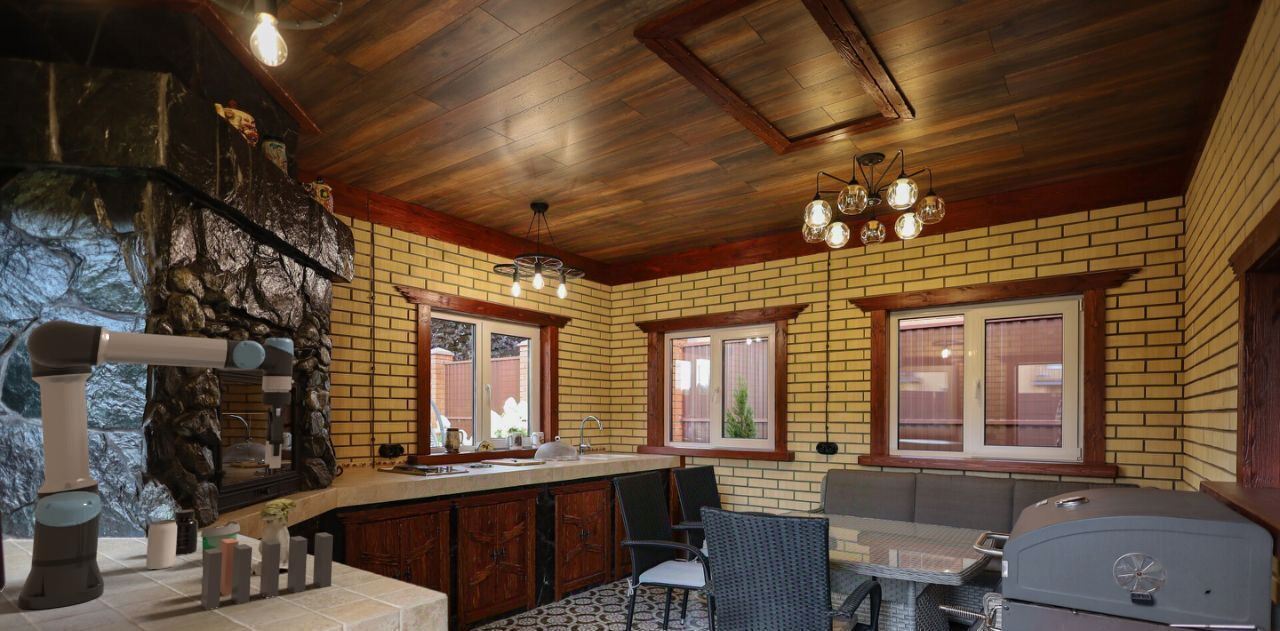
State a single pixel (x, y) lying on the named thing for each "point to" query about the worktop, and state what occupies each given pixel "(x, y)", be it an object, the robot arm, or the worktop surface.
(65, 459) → the robot arm
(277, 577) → the domino
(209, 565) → the domino
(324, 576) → the domino
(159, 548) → the can
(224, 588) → the domino
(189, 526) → the supplement bottle
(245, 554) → the domino
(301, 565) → the domino
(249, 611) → the worktop surface
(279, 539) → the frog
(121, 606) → the worktop surface
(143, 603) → the worktop surface
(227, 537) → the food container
